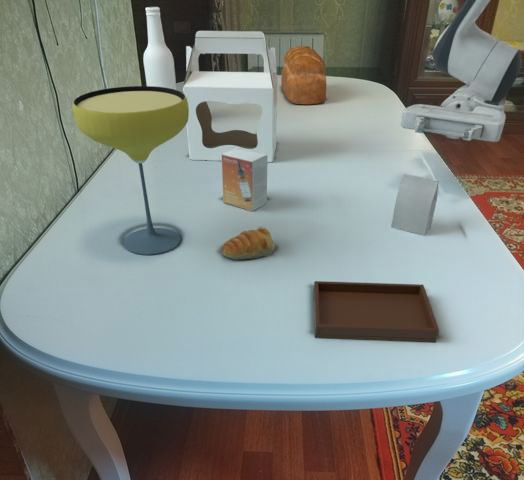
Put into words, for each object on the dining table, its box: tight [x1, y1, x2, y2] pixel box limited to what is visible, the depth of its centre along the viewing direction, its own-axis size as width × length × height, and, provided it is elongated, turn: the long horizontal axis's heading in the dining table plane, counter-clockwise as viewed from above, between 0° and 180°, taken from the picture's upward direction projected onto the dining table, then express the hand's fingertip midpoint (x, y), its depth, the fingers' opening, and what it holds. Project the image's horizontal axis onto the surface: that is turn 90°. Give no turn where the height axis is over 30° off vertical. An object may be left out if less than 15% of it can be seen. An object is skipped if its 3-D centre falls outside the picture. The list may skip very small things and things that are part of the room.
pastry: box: [221, 226, 276, 261], centre depth 92 cm, size 9×7×4 cm
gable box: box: [182, 30, 278, 163], centre depth 127 cm, size 22×13×28 cm, turn 85°
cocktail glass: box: [72, 85, 189, 256], centre depth 88 cm, size 18×18×25 cm
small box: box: [221, 148, 268, 212], centre depth 107 cm, size 8×6×10 cm
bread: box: [280, 45, 327, 105], centre depth 180 cm, size 14×26×16 cm, turn 5°
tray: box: [313, 280, 440, 343], centre depth 76 cm, size 17×12×2 cm
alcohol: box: [142, 6, 178, 90], centre depth 150 cm, size 9×9×30 cm
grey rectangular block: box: [390, 173, 440, 236], centre depth 97 cm, size 4×7×10 cm, turn 57°
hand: (442, 132), depth 99 cm, fingers open, 8 cm apart
